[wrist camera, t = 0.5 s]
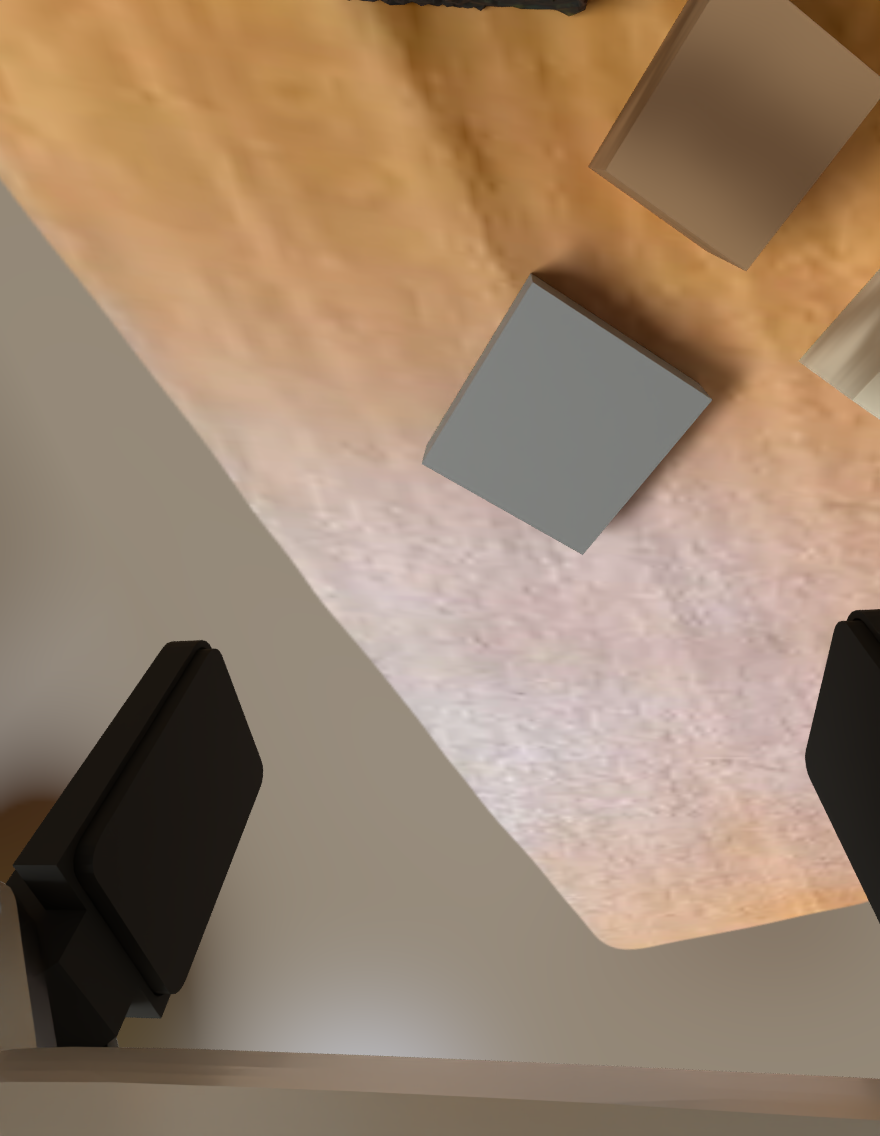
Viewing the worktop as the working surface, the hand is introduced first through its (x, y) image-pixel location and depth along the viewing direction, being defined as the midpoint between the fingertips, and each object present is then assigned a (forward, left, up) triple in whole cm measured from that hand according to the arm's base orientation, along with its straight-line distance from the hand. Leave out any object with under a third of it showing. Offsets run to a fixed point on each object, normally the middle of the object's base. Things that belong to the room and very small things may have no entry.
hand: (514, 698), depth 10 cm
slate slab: (+2, +4, -26) cm, 27 cm away
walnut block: (-11, +2, -26) cm, 28 cm away
